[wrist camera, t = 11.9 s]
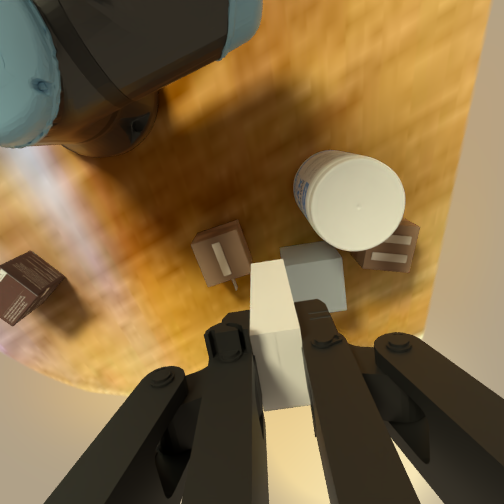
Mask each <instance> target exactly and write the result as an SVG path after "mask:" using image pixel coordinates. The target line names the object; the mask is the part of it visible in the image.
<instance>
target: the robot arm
mask: <svg viewBox="0 0 504 504" xmlns="http://www.w3.org/2000/svg"><path fill="white" fill-rule="evenodd" d="M262 7H263V3H262V0H0V146H1V147H5V148H24V147H26V146H43V145H62V146H63V147H65V148H67V149H69V150H71V151H73V152H75V153H78V154H81V155H85V156H89V157H110V156H116V155H120V154H123V153H126V152H128V151H130V150H132V149H133V148H135V147H136V146H137V145H139V144H140V143H141V142H142V141H143V140H144V139H145V137H146V136H147V135H148V133H149V132H150V130H151V128H152V126H153V124H154V122H155V119H156V115H157V110H158V90H159V89H161V88H163V87H165V86H167V85H169V84H171V83H173V82H175V81H177V80H179V79H181V78H182V77H184V76H186V75H188V74H190V73H192V72H194V71H196V70H198V69H200V68H202V67H204V66H206V65H208V64H210V63H212V62H214V61H220V60H222V58H224V57H225V56H226V55H227V53H228V52H230V51H232V50H234V49H235V48H237V47H239V46H240V45H242V44H244V43H246V42H247V41H249V40H250V39H251V38H252V37H253V36H254V34H255V33H256V31H257V30H258V28H259V25H260V22H261V17H262ZM204 338H205V342H206V347H207V351H208V355H209V363H208V366H207V367H206V368H204V369H202V370H200V371H198V372H195V373H192V374H189V375H187V376H185V373H184V370H183V369H181V368H180V367H175V366H168V367H161V368H158V369H156V370H154V371H153V372H151V373H149V374H148V375H146V376H145V377H144V378H143V379H142V380H141V382H140V383H139V384H138V385H137V387H136V388H135V389H134V390H133V392H132V393H131V394H130V395H129V397H128V398H127V399H126V401H125V402H124V403H123V405H122V406H121V407H120V408H119V409H118V411H117V412H116V413H115V414H114V416H113V417H112V418H111V420H110V421H109V422H108V423H107V424H106V426H105V427H104V428H103V429H102V431H101V432H100V433H99V435H98V436H97V437H96V438H95V440H94V441H93V442H92V443H91V445H90V446H89V447H88V448H87V450H86V451H85V452H84V453H83V455H82V456H81V457H80V458H79V460H78V461H77V462H76V463H75V465H74V466H73V467H72V469H71V470H70V471H69V472H68V474H67V475H66V476H65V477H64V479H63V480H62V481H61V483H60V484H59V485H58V486H57V488H56V489H55V490H54V491H53V492H52V494H51V495H50V496H49V497H48V499H47V500H46V501H45V503H44V504H180V501H181V499H182V503H181V504H269V493H268V472H267V451H266V429H265V419H264V414H263V409H264V411H271V410H278V409H285V408H293V407H300V406H308V405H311V411H312V418H313V425H314V432H315V437H317V441H318V446H319V451H320V456H321V460H322V465H323V470H324V475H325V480H326V485H327V489H328V494H329V499H330V503H331V504H420V501H419V499H418V497H417V495H416V493H415V490H414V488H413V486H412V484H411V481H410V479H409V477H408V475H407V473H406V471H405V468H404V466H403V464H402V462H401V460H400V457H399V455H398V453H397V451H396V448H395V446H394V444H393V442H392V440H391V438H392V439H393V441H394V442H395V443H396V444H397V445H398V447H399V448H400V449H401V451H402V452H403V453H404V454H405V456H406V457H407V458H408V459H409V460H410V462H411V463H412V464H413V465H414V467H415V468H416V469H417V470H418V471H419V473H420V474H421V475H422V477H423V478H424V479H425V480H426V482H427V483H428V484H429V485H430V486H431V488H432V489H433V490H434V491H435V493H436V494H437V495H438V496H439V498H440V499H441V500H442V501H443V503H444V504H504V399H503V398H501V397H500V396H499V395H497V394H496V393H494V392H493V391H492V390H490V389H489V388H487V387H486V386H485V385H483V384H482V383H480V382H479V381H478V380H476V379H475V378H474V377H472V376H471V375H469V374H468V373H467V372H465V371H464V370H462V369H461V368H460V367H458V366H457V365H455V364H454V363H453V362H451V361H450V360H448V359H447V358H446V357H444V356H443V355H442V354H440V353H439V352H437V351H436V350H434V349H433V348H432V347H430V346H429V345H428V344H426V343H425V342H423V341H422V340H421V339H419V338H417V337H415V336H413V335H410V334H406V333H400V332H398V333H397V332H393V333H388V334H384V335H382V336H380V337H378V338H377V339H376V340H375V342H374V347H359V346H354V345H351V344H348V343H347V340H346V339H345V337H344V336H343V335H342V334H339V333H338V331H337V329H336V327H335V325H334V322H333V320H332V318H331V315H330V313H329V311H328V308H327V306H326V304H325V303H324V302H322V301H321V300H319V299H312V300H305V301H299V302H293V298H292V294H291V289H290V285H289V281H288V277H287V273H286V269H285V265H284V261H283V259H278V260H272V261H266V262H259V263H253V264H251V286H250V310H245V311H239V312H232V313H228V314H227V315H226V316H225V317H224V318H223V320H222V323H219V324H217V325H214V326H212V327H211V328H209V329H208V330H207V331H206V332H205V334H204ZM182 497H183V498H182Z"/></svg>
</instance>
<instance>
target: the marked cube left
mask: <svg viewBox="0 0 504 504" xmlns="http://www.w3.org/2000/svg"><path fill="white" fill-rule="evenodd" d="M191 247H192V249H193V252H194V254H195V257H196V259H197V261H198V264H199V266H200V269H201V271H202V274H203V276H204V279H205V281H206V284H207V286H208V287H211V286H214V285H217V284H220V283H223V282H226V281H229V280H232V281H233V284H234V287H235V289H236V290H237V288H238V286H237V283H236V281H235V278H238V277H241V276H244V275H248V274H251V264H252V257H251V254H250V251H249V248H248V246H247V243H246V240H245V237H244V235H243V232H242V229H241V226H240V224H239V221H238V220H235V221H232V222H229V223H226V224H223V225H220V226H217V227H214V228H211V229H208V230H205V231H202V232H199V233H197V235H196V236H195V238H194V240H193V242H192V243H191Z"/></svg>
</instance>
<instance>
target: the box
mask: <svg viewBox="0 0 504 504" xmlns="http://www.w3.org/2000/svg"><path fill="white" fill-rule="evenodd" d="M63 279H64V275H62V274H61V273H60V272H58V271H57V270H56V269H54V268H53V267H52V266H50V265H49V264H48V263H46V262H45V261H44V260H43V259H41V258H40V257H39V256H38V255H36V254H35V253H34V252H32V251H28V252H27V253H25V254H23V255H20V256H18V257H16V258H14V259H12V260H10V261H8V262H6V263H4V264H2V265H0V318H1V319H3V320H4V321H5V322H7V323H8V324H10V325H11V326H14V325H15V324H16V323H18V322H19V321H20V320H21V319H23V318H24V317H25V316H27V315H28V314H29V313H31V312H32V311H33V310H35V309H36V308H37V307H38V306H40V305H41V304H42V303H43V302H44V301H45V300H46V299H47V298H48V297H49V295H50V294H51V293H52V292H53V291H54V290H55V288H56V287H57V286H58V285H59V284H60V282H61V281H62V280H63Z"/></svg>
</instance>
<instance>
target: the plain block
mask: <svg viewBox="0 0 504 504" xmlns="http://www.w3.org/2000/svg"><path fill="white" fill-rule="evenodd" d="M280 255H281V259H283V261H284V265H285V269H286V273H287V277H288V281H289V285H290V289H291V294H292V298H293V302H299V301H305V300H312V299H319V300H321V301H322V302H324V303H325V304H326V306H327V308H328V311H329V313H331V312H338V311H345V310H347V304H346V294H345V283H344V273H343V263H342V257H341V255H340V254H339V253H338V251H337V250H336V249H335V247H334V246H332V245H330V244H329V243H327V242H326V241H320V242H313V243H307V244H300V245H294V246H287V247H281V248H280Z"/></svg>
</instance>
